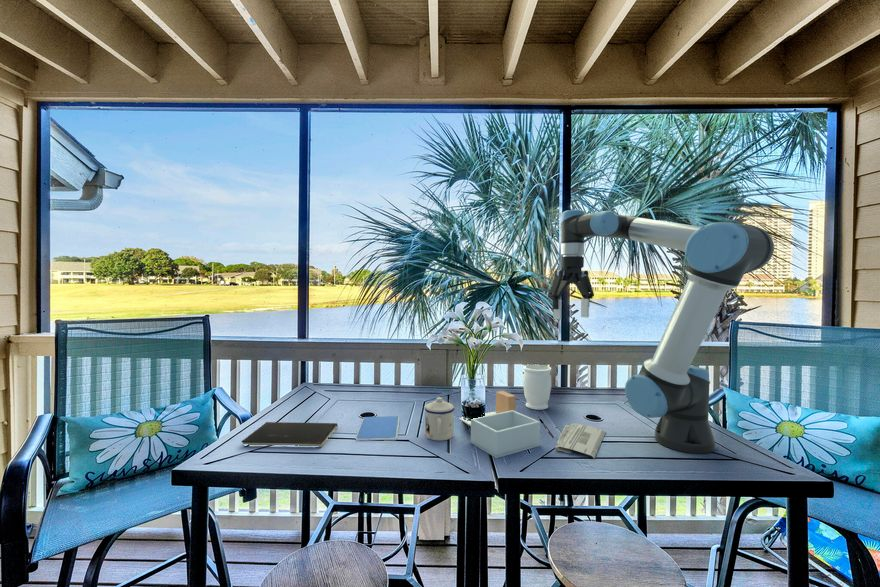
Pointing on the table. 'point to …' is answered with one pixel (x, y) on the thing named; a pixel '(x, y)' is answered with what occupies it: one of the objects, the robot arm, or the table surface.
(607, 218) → the robot arm
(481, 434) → the parts tub
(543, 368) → the jar
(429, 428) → the teacup with lid
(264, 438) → the hardcover book
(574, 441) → the newspaper
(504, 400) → the lid
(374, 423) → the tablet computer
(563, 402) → the table surface
